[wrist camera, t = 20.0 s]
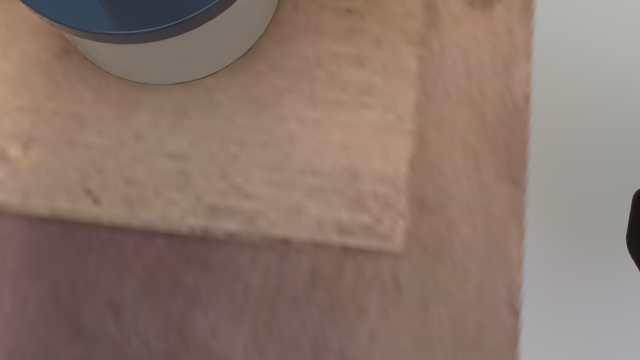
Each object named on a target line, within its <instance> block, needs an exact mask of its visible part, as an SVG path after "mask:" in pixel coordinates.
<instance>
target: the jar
mask: <svg viewBox="0 0 640 360" xmlns="http://www.w3.org/2000/svg"><path fill="white" fill-rule="evenodd" d="M20 1H21V2H22V3H23V4H24V5H25V6H26V7H27V8H28V9H29V10H30V11H31V12H32V13H34V14H35V15H36V16H38V17H39V18H41V19H42V20H43V21H45V22H46V23H48V24H50V25H52V26H53V27H55V28H57V29H58V30H59V31H60V32H61V33H62V34H63V35H64V36H65V37H66V38H67V39H68V40H69V41H70V42H71V44H72V45H73V46H74V47H75V48H76V49H78V50H79V51H80V52H81V53H82V54H83V55H84V56H85V57H86V58H87V59H88V60H90V61H91V62H92V63H94V64H95V65H96V66H98V67H99V68H101V69H103V70H105V71H107V72H109V73H111V74H113V75H116V76H118V77H121V78H124V79H126V80H131V81H135V82H140V83H148V84H175V83H181V82H188V81H192V80H195V79H199V78H202V77H205V76H207V75H210V74H212V73H215V72H217V71H219V70H221V69H222V68H224V67H226V66H228V65H229V64H231V63H232V62H234V61H235V60H236V59H238V58H239V57H240V56H242V55H243V54H244V53H245V52H246V51H247V50H248V49H249V48H250V47H252V46H253V45H254V44H255V42H256V41H257V40H258V39H259V37H260V36H261V35H262V34H263V32H264V31H265V29H266V28H267V26H268V24H269V23H270V21H271V19H272V17H273V15H274V12H275V10H276V8H277V5H278V1H279V0H20Z"/></svg>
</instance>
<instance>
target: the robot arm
mask: <svg viewBox="0 0 640 360" xmlns="http://www.w3.org/2000/svg"><path fill="white" fill-rule="evenodd" d="M626 243H627V248H628V251H629V253H630V255H631V257H632V259H633V260H634V262H635V264H636V266H637V267H638V269H639V271H640V189H639V190H637V191H636V192H635V194H634V195H633V199H632V204H631V211H630V216H629V222H628V229H627V235H626Z"/></svg>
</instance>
